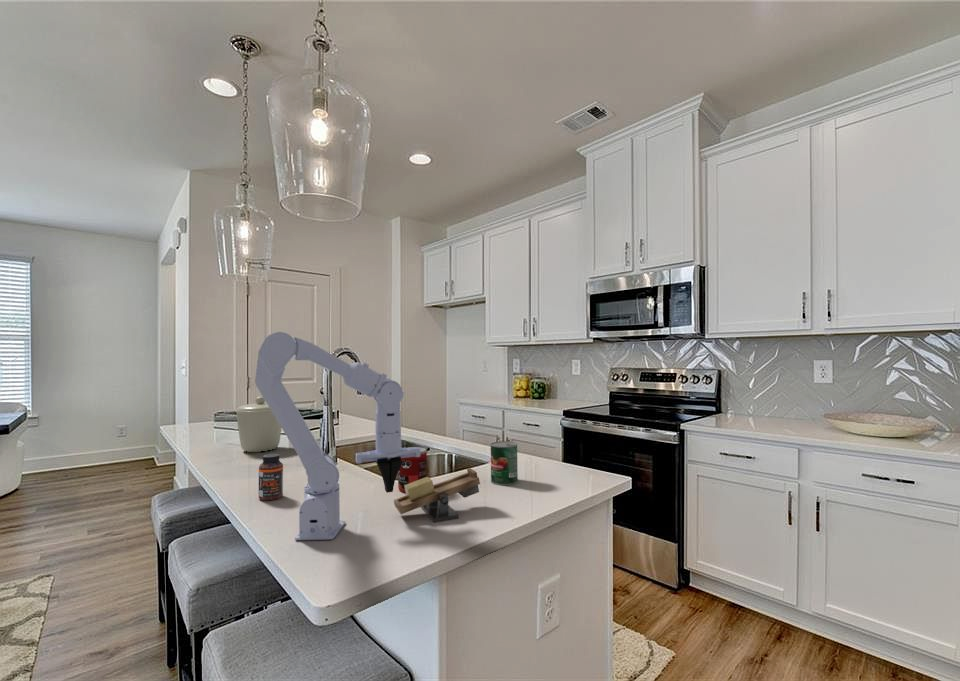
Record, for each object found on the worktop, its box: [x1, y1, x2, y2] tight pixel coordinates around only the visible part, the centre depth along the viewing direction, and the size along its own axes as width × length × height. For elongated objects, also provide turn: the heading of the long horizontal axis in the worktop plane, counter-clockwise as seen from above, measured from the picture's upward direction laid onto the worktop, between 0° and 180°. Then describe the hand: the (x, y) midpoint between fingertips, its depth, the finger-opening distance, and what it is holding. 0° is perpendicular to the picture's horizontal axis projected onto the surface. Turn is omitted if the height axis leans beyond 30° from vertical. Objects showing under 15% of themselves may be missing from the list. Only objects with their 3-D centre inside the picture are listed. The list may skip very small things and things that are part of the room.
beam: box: [393, 467, 481, 515], centre depth 110 cm, size 20×6×5 cm, turn 113°
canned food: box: [397, 446, 428, 494], centre depth 128 cm, size 8×8×11 cm
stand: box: [420, 493, 460, 523], centre depth 110 cm, size 6×12×5 cm, turn 23°
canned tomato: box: [490, 440, 519, 486], centre depth 135 cm, size 8×8×11 cm
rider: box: [404, 476, 435, 502], centre depth 109 cm, size 6×4×4 cm, turn 113°
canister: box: [234, 396, 282, 453], centre depth 182 cm, size 18×18×21 cm
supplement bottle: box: [258, 453, 284, 502], centre depth 123 cm, size 6×6×11 cm
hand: (389, 491), depth 106 cm, fingers closed
